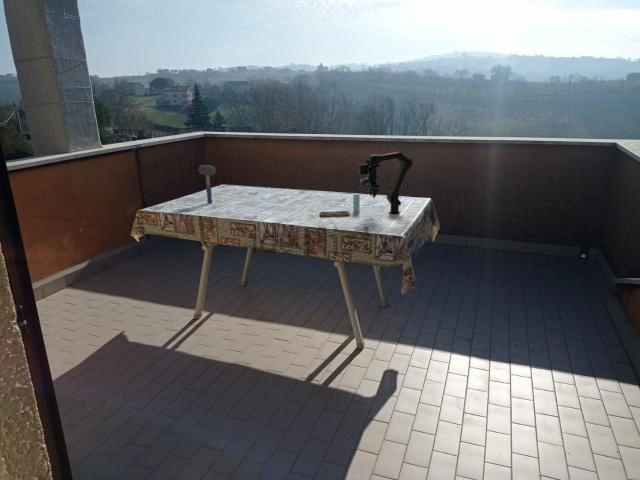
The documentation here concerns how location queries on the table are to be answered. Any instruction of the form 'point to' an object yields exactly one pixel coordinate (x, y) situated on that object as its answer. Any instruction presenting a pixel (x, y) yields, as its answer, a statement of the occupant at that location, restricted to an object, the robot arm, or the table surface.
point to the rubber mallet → (207, 178)
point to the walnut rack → (335, 214)
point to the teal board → (356, 203)
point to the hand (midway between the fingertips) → (372, 196)
